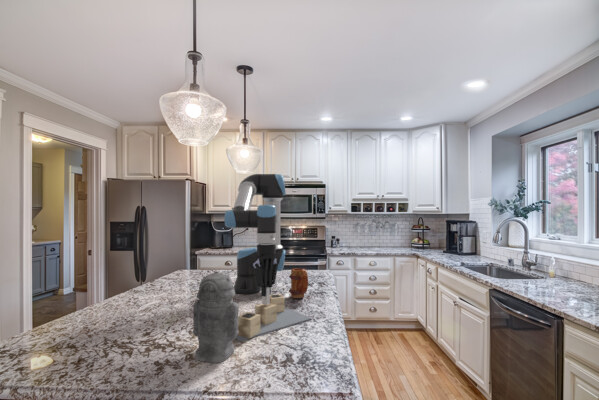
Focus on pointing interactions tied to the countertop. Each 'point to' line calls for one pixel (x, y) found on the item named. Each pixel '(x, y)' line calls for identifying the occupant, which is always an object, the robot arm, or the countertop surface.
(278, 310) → the labelled block
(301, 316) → the mat
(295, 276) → the mug
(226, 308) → the figurine
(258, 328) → the labelled block
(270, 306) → the plain block
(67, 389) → the countertop surface
